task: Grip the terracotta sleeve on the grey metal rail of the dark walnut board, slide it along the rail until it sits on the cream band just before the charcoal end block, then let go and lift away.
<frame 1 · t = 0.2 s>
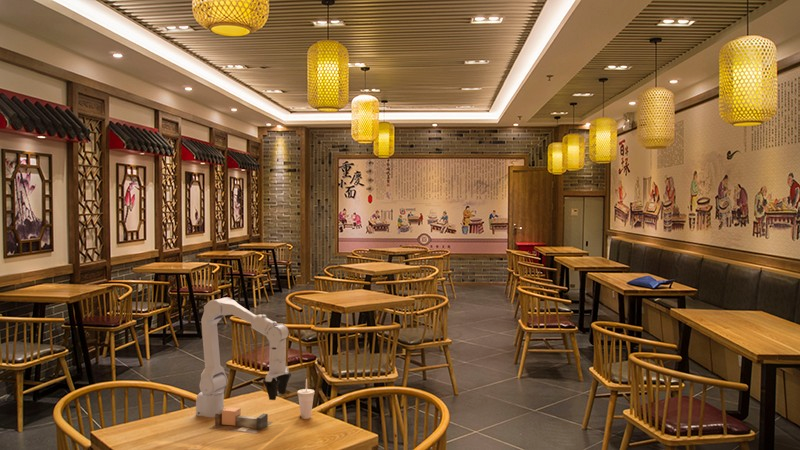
hand: (277, 396, 216), 10 cm above the table, tool pointing down, fingers open, 7 cm apart
smoothie: (305, 417, 224), on the table
sleeve: (231, 416, 213), point 4 cm above the table, slide at 0.0 cm
rail board: (241, 428, 212), on the table
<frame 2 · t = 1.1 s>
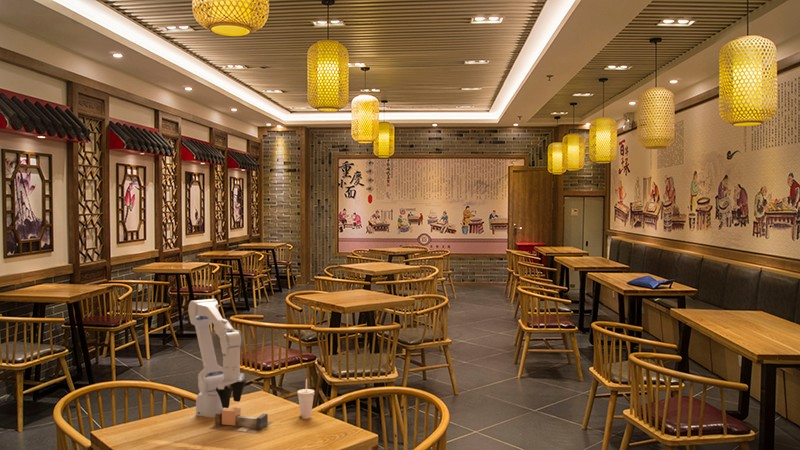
hand: (231, 404, 213), 8 cm above the table, tool pointing down, fingers open, 7 cm apart
nothing on the table moved.
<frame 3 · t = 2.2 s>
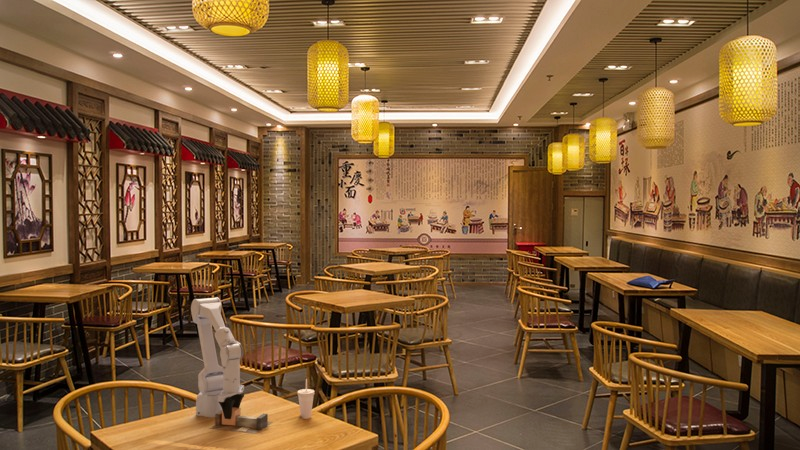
hand: (231, 416, 213), 4 cm above the table, tool pointing down, fingers closed on sleeve, 4 cm apart
sleeve: (231, 416, 213), point 4 cm above the table, slide at 0.0 cm, touching gripper
everything else where it was.
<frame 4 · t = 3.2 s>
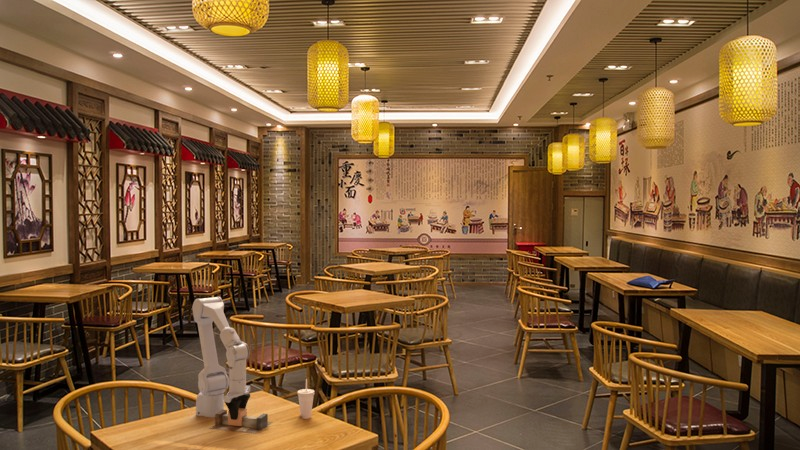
hand: (237, 417, 212), 4 cm above the table, tool pointing down, fingers closed on sleeve, 4 cm apart
sleeve: (237, 416, 212), point 4 cm above the table, slide at 2.4 cm, touching gripper
everything else where it was.
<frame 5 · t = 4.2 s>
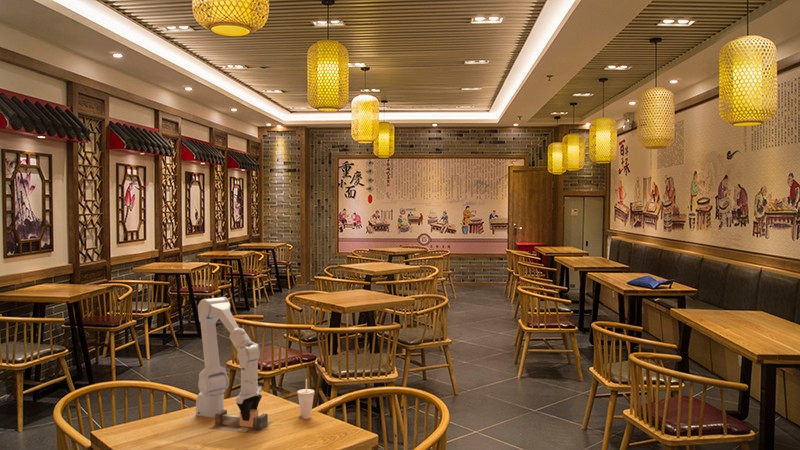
hand: (249, 418, 211), 4 cm above the table, tool pointing down, fingers closed on sleeve, 4 cm apart
sleeve: (249, 417, 211), point 4 cm above the table, slide at 6.9 cm, touching gripper
everything else where it was.
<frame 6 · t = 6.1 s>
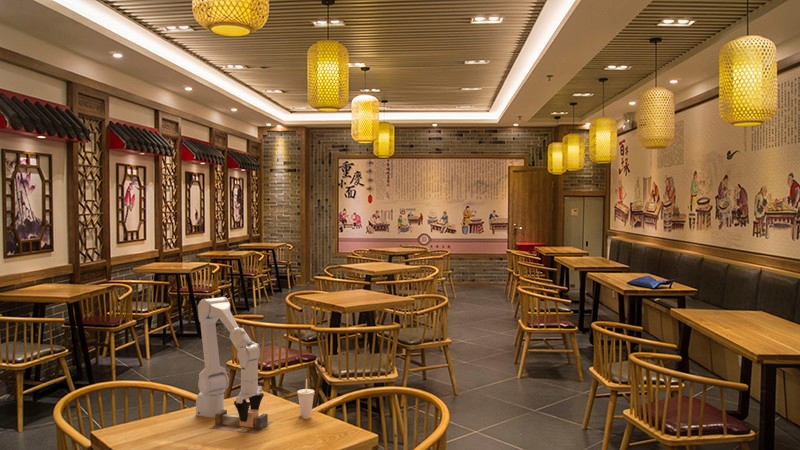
hand: (249, 417, 211), 4 cm above the table, tool pointing down, fingers open, 7 cm apart
sleeve: (249, 417, 211), point 4 cm above the table, slide at 7.0 cm
everything else where it was.
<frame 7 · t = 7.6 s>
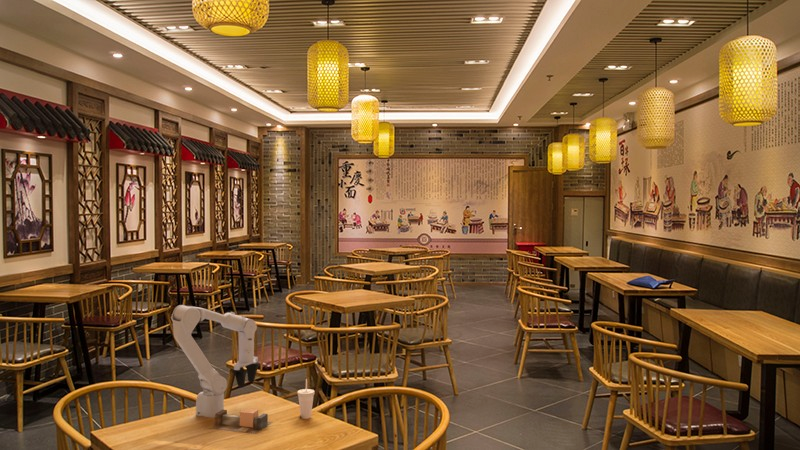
hand: (246, 384, 233), 9 cm above the table, tool pointing down, fingers open, 7 cm apart
nothing on the table moved.
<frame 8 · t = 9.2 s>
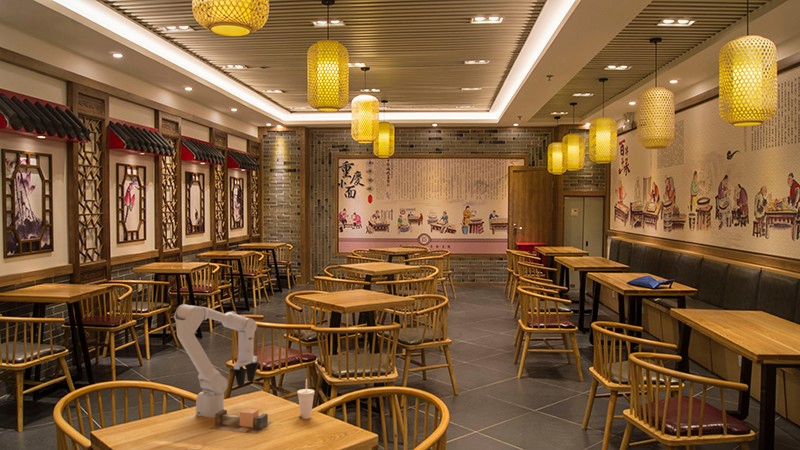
hand: (245, 383, 235), 9 cm above the table, tool pointing down, fingers open, 7 cm apart
nothing on the table moved.
at the end: sleeve slide at 7.0 cm; the gripper is holding nothing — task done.
